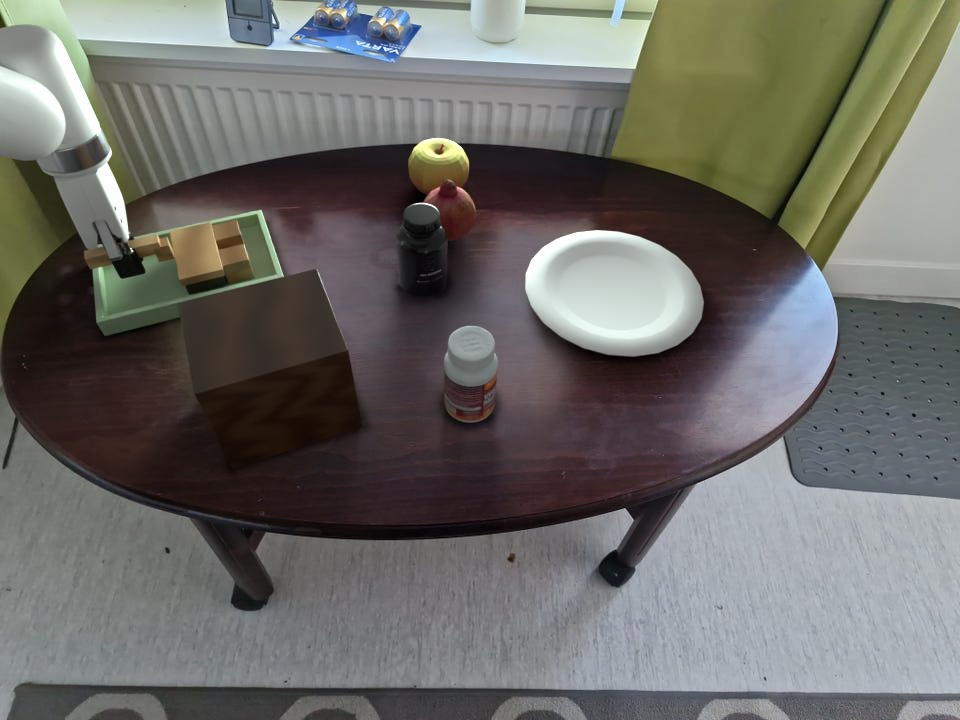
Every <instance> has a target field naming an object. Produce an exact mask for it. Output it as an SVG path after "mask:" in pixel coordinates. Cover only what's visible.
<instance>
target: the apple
mask: <svg viewBox="0 0 960 720" xmlns="http://www.w3.org/2000/svg"><path fill="white" fill-rule="evenodd" d="M407 162H408V163H407V165H408V174H409V179H410V181H411V182H412V183H413V185H414V187H415V188H416V189H417V190H418V191H419V192H421V193H422V194H423V195H426V196H428V195H429V193H430V192H431V191H433V190H435V189H437V188H439V187H440V186H441V184H442V181H444V180H451V181H453V182H454V183H455V184H456V186H457V187H459V188H461V189H463V187H464V186H465V184H466V182H467V181H468V180H469V171H470V161H469V158H468V156H467V154H466V152H465V150H464V149H463V148H462V146H461V145H459V143H456V141H452V140H451V139H450V140H449V139H447V138H440V137H436V138H429V139H425V140H422V141H420V142H419V143H418V144H417V145H416V146H414V147H413V150H412V152H411V153H410V156H409V158H408V161H407Z"/></svg>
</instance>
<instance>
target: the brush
mask: <svg viewBox="0 0 960 720" xmlns="http://www.w3.org/2000/svg"><path fill="white" fill-rule="evenodd" d="M170 236H171V241H172V246H173V249H172V247H171V244H170V242H169V240H168V238H167V237H165V238H161V239H159V237H158V235H157V234H156V235H152V236H147V237H143V238H138V239H134V240H130V241H129V243H130V245H131V247H132V249H133V248H135V249H136V252H137V254H138V256H139V258H142V257H146V256H151V255H155V254H156V256H157V258H158V260H159V262H163V261H167V260H171V259H175V261H176V266H177V271H178V276H179V281H180V283H181V285H182V286H185V287H186V289H187V292H188V294H189V295H190V294H194V293H198V292H202V291H206V290H210V289H214V288H218V287H222V286H226V281H225V277H224V276H225V273H224V269H223V267H222V263H221V259H220V255H219V252H218V246H217V243H216V240H215V237H214V233H213V229H212V225H211V222H209V223H204V224H200V225H196V226H191V227H187V228H182V229H178V230H173V231H170ZM119 244H123V243H122V242H121V243H117V245H119ZM173 251H174V252H173ZM174 256H175V257H174ZM83 258H84V261H85V263H86V264H87V266H88V268H89V269H90V270H93V269H95V268H99V267H103V266H108V265H112V262H111V260H110V258H109V257H108V254H107V252H106V250H105V249H104V247H98V248H97V249H94V250H92V251H91V250H89V249H85V250H84V251H83Z"/></svg>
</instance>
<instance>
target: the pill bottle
mask: <svg viewBox="0 0 960 720" xmlns="http://www.w3.org/2000/svg"><path fill="white" fill-rule="evenodd" d="M495 349H496V342H495V339H494V337H493V335H492V333H490V332H489V331H488V330H486V328H483V327H481V326H476V325H466V326H461V327H459V328H457V329H456V330H454V331H453V332H452V333H451V334H450V336H449V338H448V340H447V352H446V354H445V355H444V358H443V379H444V380H443V382H444V385H443V388H444V391H443V392H444V394H443V395H444V406H445V409H446V411H447V412H448V414H449V415H450V416H451V417H452V418H454V419H455V420H457V421H459V422H462V423H468V424H469V423H470V424H473V423H478V422H481V421H483V420H486V419H487V418H488V417H489V416H490V415H491V413H493V410H494V409H495V404H496V394H497V381H498V373H499V372H498V371H499V360H498V356H497V354H496V351H495Z"/></svg>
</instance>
